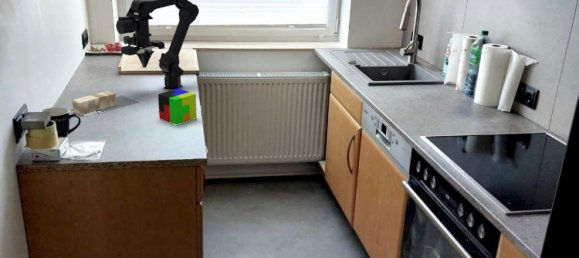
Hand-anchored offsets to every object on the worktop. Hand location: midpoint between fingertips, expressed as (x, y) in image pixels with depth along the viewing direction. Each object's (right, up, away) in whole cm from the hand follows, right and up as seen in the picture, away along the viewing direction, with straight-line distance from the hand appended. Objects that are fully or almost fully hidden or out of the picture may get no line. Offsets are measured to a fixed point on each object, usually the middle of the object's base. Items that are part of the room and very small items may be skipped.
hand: (144, 67), depth 226 cm
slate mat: (-12, -17, -12) cm, 24 cm away
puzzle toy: (+19, -22, -21) cm, 36 cm away
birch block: (-10, -14, -10) cm, 20 cm away
